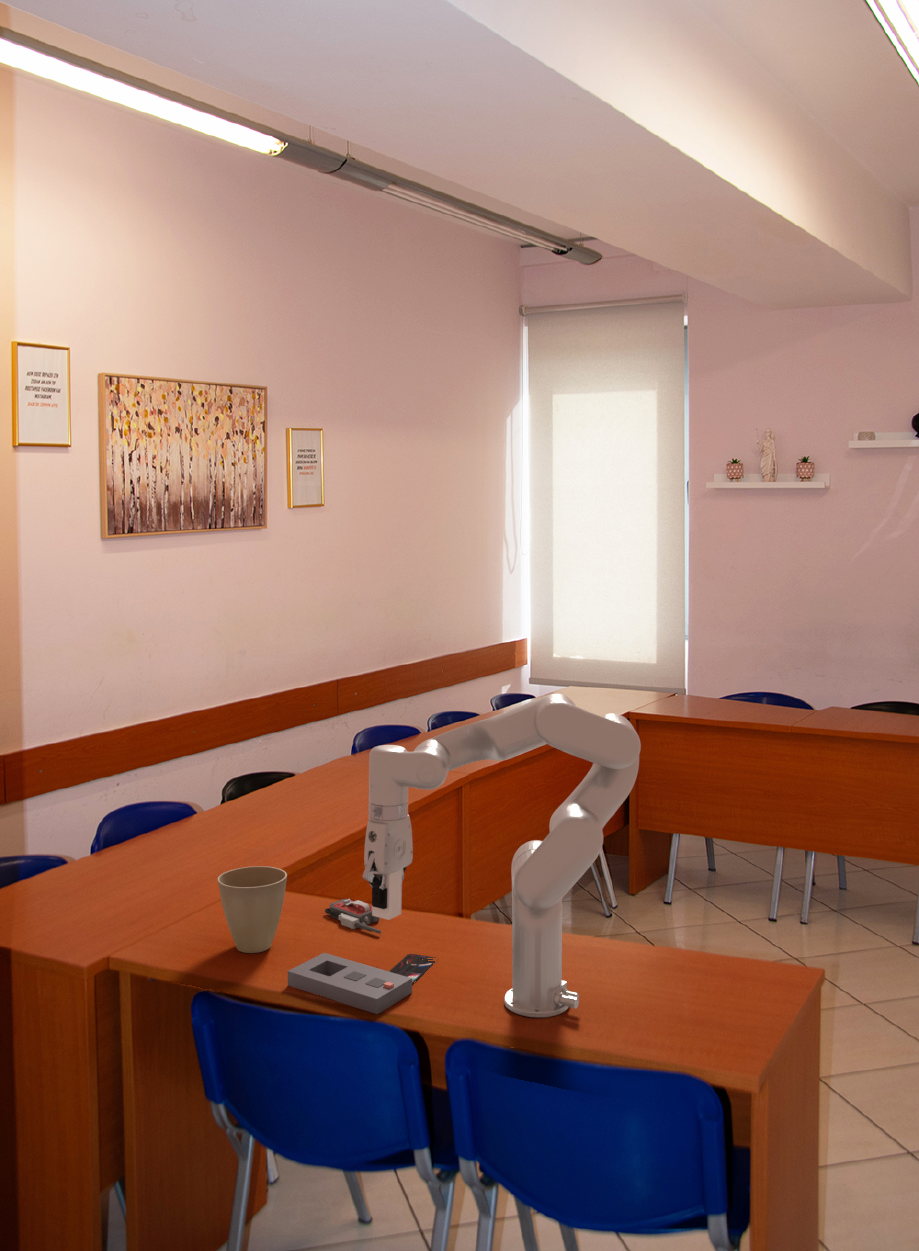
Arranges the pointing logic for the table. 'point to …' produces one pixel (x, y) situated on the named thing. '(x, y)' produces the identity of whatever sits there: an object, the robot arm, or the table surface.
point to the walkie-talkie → (353, 914)
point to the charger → (391, 896)
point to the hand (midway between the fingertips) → (386, 902)
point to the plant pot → (253, 905)
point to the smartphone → (413, 966)
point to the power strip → (350, 982)
